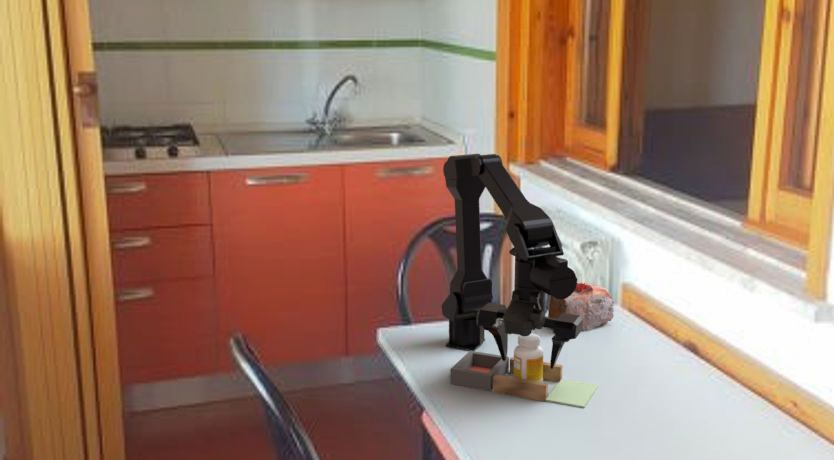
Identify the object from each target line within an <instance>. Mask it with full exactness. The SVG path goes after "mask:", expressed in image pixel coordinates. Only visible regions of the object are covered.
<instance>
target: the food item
mask: <svg viewBox="0 0 834 460" xmlns="http://www.w3.org/2000/svg"><path fill="white" fill-rule="evenodd" d="M549 296H550V295H549ZM614 307H615V298H614V297H613V296H612V295H611V294H610V293H609V291H608V290H607V288H605V287H604V286H602V285H598V284H592V285H589V284H586V282H585V283H583V282H579V283H578V282H577V285H576V288H575V290H574V292H573V293H572V294H571V295H570V296H569V297H568V298H565V299H556V298H554V297H552V296H550V298H549V304H548V310H547V317H550V318H558V317H559V316H560V315H561V313H567V314H574V315H580V316H581V318H582V319H583V330H582V332H583V331H584V332H589V331H590V330H591V331H592V330H593V329H594V328H597V327H600V326H603V325H607V324H608V323H609V322H611V321H612V319H614V316H615V315H614V312H615V310H614ZM550 329H551V330H553V329H552V328H550Z"/></svg>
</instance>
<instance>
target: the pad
mask: <svg viewBox="0 0 834 460" xmlns="http://www.w3.org/2000/svg"><path fill="white" fill-rule="evenodd" d="M598 388H599V384H594V383H589V382H581V381H576V380H569V379H564V378H562V379H561V381H560V382H557V385H556V386H555V387H554V388H553V389H552V391H551V392H550V394H548V397H547V399H546V401H545V402H549V403H554V404H559V405H560V404H561V405H566V406H572V407H577V408H582V409H584V408H586V406H587V405H588V404H589V402H590V400H591V399H592V397H593V396H594V394H595V393H596V391H597V390H598Z"/></svg>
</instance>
